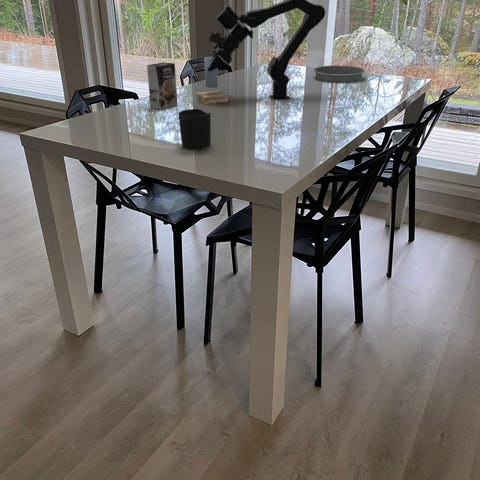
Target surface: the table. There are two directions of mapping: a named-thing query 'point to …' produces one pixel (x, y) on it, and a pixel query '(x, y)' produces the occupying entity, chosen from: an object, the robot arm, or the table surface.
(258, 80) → the table surface
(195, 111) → the pen holder
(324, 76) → the cake pan
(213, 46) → the robot arm
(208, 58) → the canister
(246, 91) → the table surface
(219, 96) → the oak base block
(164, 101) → the coffee box
